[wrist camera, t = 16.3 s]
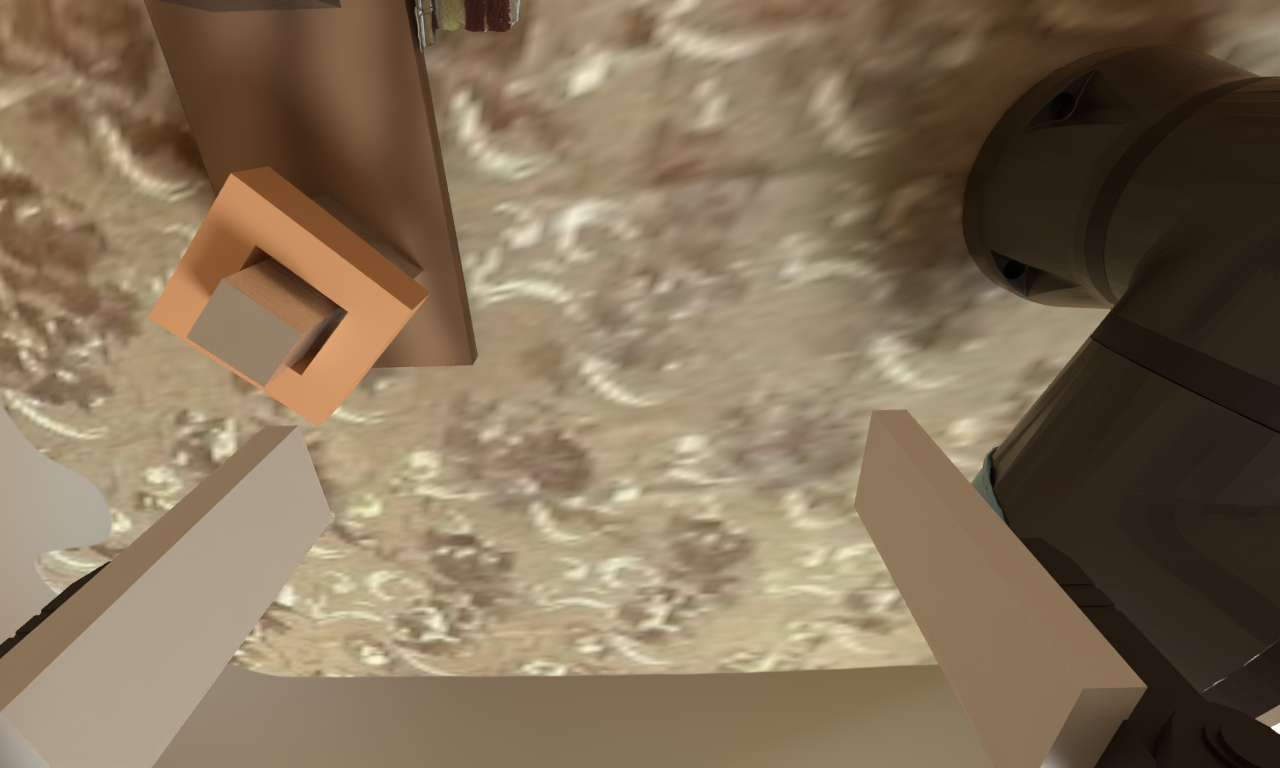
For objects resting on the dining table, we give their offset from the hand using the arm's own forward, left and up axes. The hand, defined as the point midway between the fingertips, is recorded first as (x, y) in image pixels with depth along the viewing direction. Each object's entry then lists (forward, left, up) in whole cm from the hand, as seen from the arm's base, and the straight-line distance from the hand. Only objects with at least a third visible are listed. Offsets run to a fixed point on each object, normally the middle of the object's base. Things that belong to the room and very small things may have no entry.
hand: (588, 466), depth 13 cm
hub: (+18, +2, -25) cm, 31 cm away
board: (+18, -7, -27) cm, 33 cm away
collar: (+18, +2, -20) cm, 27 cm away
